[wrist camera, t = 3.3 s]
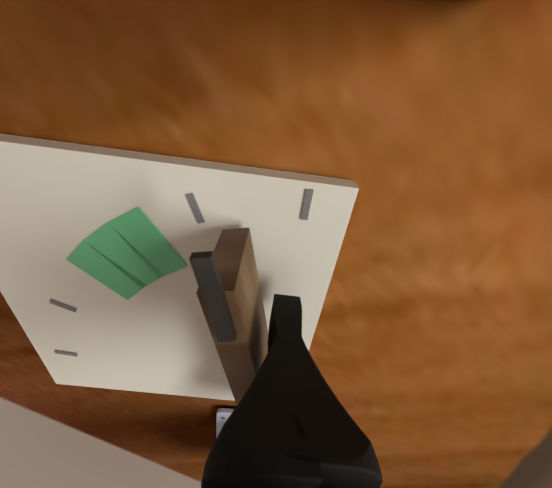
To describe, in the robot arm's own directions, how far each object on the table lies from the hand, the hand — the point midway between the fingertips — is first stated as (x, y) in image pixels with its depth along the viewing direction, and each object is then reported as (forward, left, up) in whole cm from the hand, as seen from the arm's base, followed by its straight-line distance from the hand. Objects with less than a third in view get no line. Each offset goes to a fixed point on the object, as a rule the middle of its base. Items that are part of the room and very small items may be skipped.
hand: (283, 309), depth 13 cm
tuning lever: (-3, +1, -1) cm, 3 cm away
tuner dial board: (-3, +7, -2) cm, 8 cm away
